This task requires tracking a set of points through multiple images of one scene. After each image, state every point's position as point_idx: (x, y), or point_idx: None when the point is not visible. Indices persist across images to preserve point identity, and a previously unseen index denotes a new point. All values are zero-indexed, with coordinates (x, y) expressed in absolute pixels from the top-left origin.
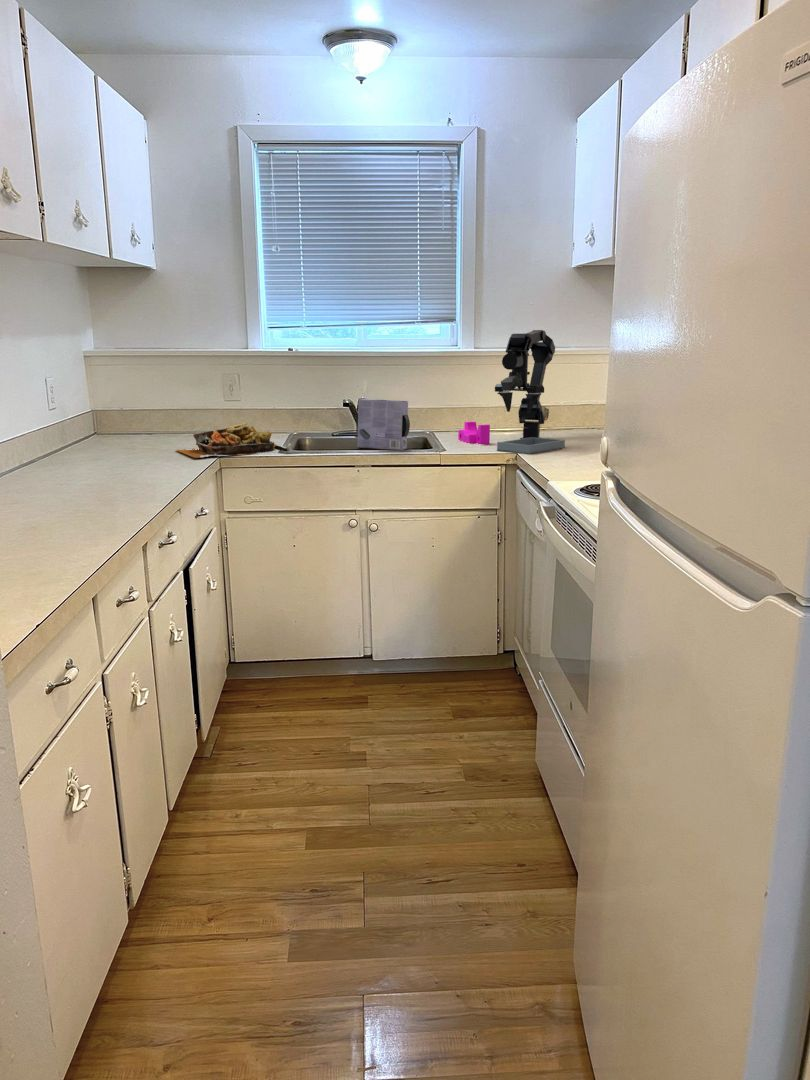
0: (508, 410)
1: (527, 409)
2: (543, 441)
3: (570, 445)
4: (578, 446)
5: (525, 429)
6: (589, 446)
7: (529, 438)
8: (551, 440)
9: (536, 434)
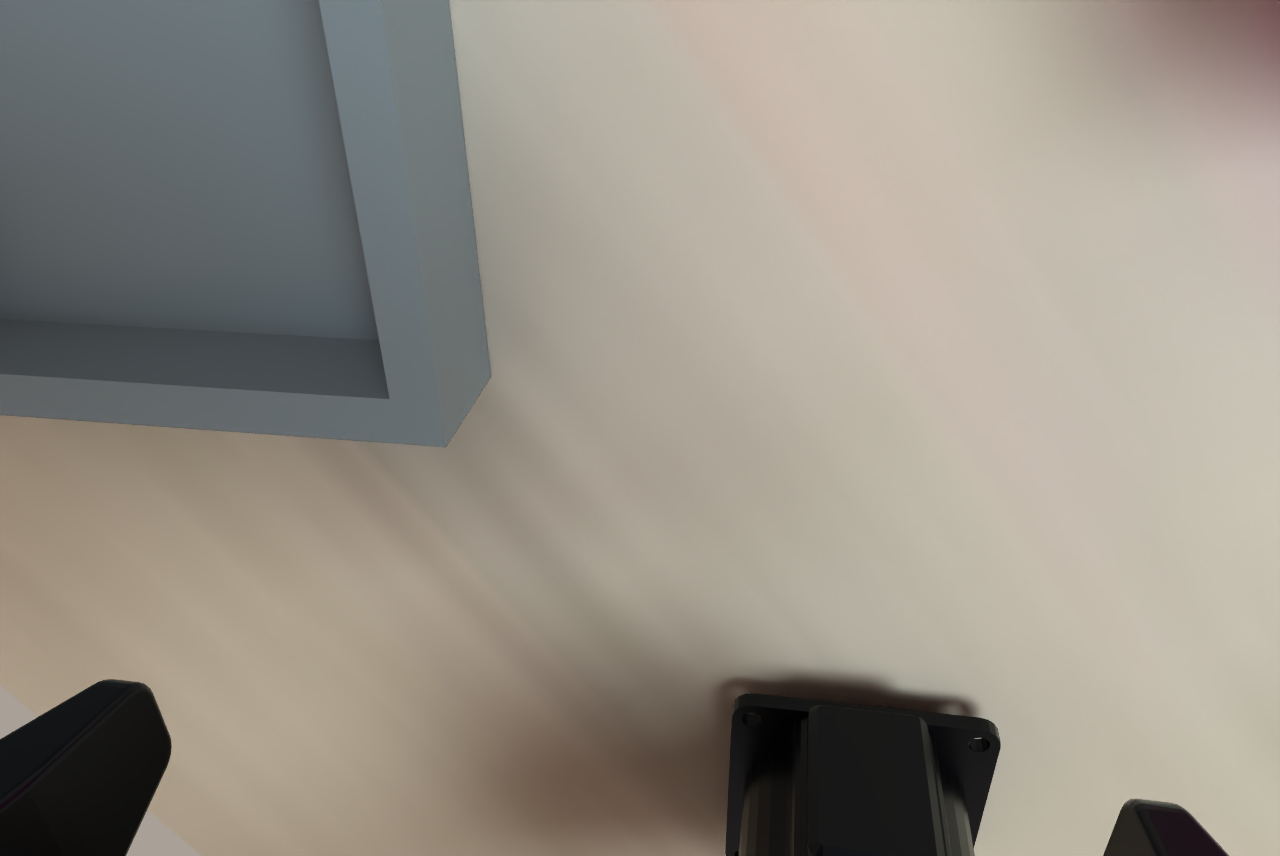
0: (1132, 852)
1: (18, 764)
2: (205, 362)
3: (185, 642)
4: (61, 615)
5: (882, 832)
6: (6, 670)
7: (372, 280)
8: (36, 367)
9: (741, 828)
